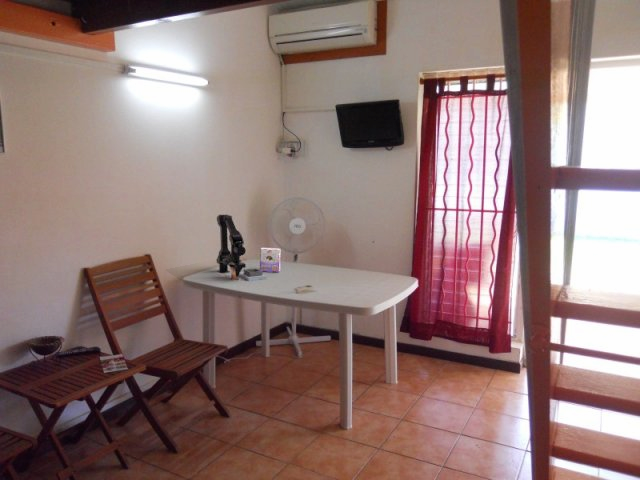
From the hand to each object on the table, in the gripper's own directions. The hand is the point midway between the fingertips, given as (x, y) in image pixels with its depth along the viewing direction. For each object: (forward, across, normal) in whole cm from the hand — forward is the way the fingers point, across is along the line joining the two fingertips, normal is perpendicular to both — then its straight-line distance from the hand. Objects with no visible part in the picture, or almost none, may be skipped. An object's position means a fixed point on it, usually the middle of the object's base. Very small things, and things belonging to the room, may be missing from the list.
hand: (235, 275), depth 326 cm
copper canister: (+2, 0, 0) cm, 2 cm away
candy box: (+2, -10, +32) cm, 33 cm away
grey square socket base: (+2, 0, +12) cm, 12 cm away
